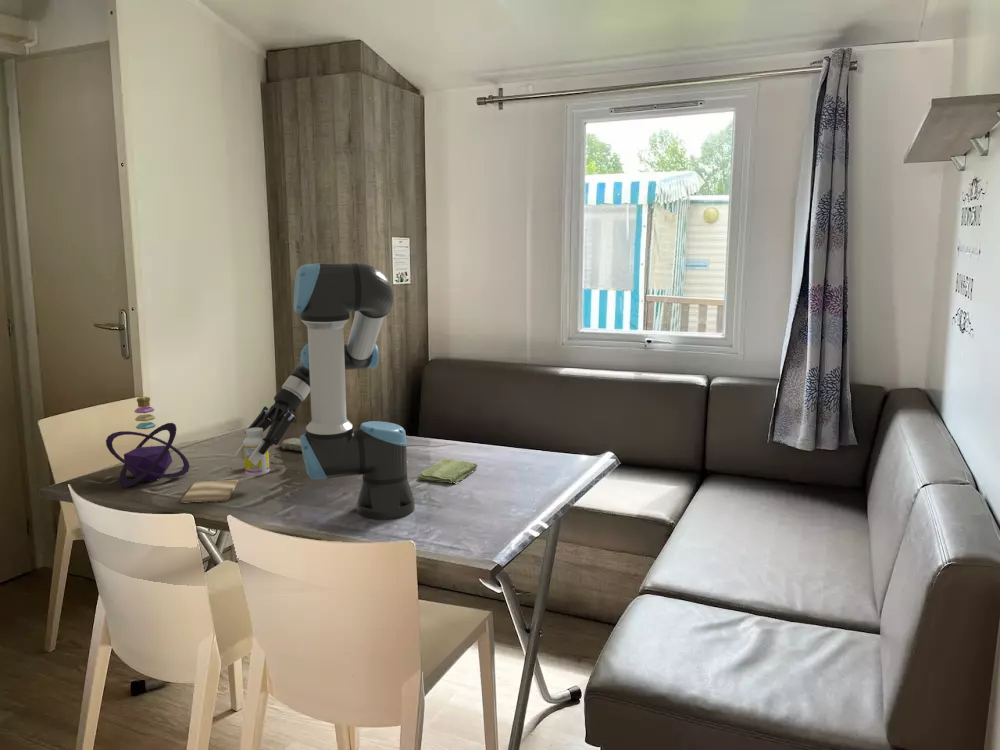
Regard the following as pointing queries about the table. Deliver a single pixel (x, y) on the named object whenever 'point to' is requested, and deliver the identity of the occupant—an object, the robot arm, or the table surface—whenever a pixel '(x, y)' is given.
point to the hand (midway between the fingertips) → (245, 460)
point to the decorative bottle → (147, 450)
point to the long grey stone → (292, 444)
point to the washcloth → (448, 471)
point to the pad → (210, 491)
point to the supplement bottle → (249, 447)
